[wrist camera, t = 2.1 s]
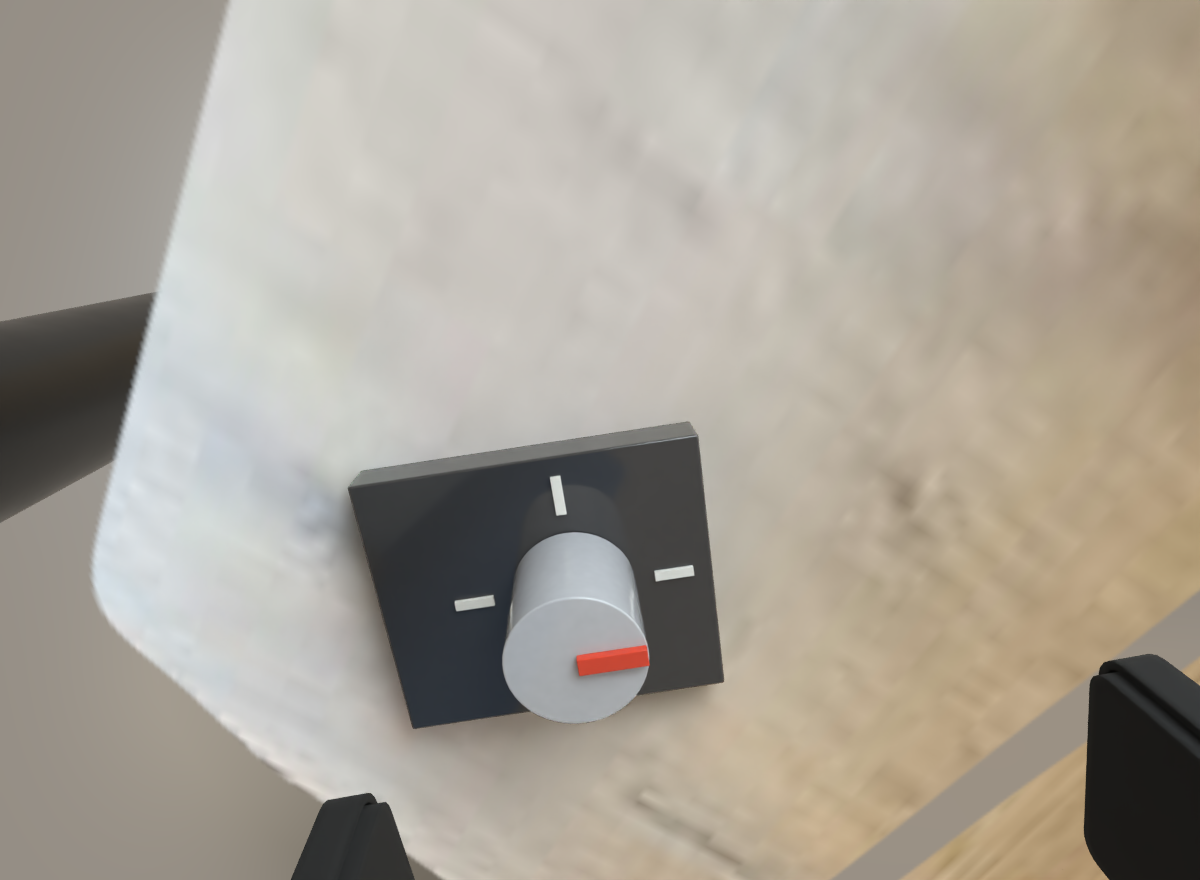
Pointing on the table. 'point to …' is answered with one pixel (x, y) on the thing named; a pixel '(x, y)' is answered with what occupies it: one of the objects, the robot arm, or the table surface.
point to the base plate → (508, 531)
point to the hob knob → (575, 630)
